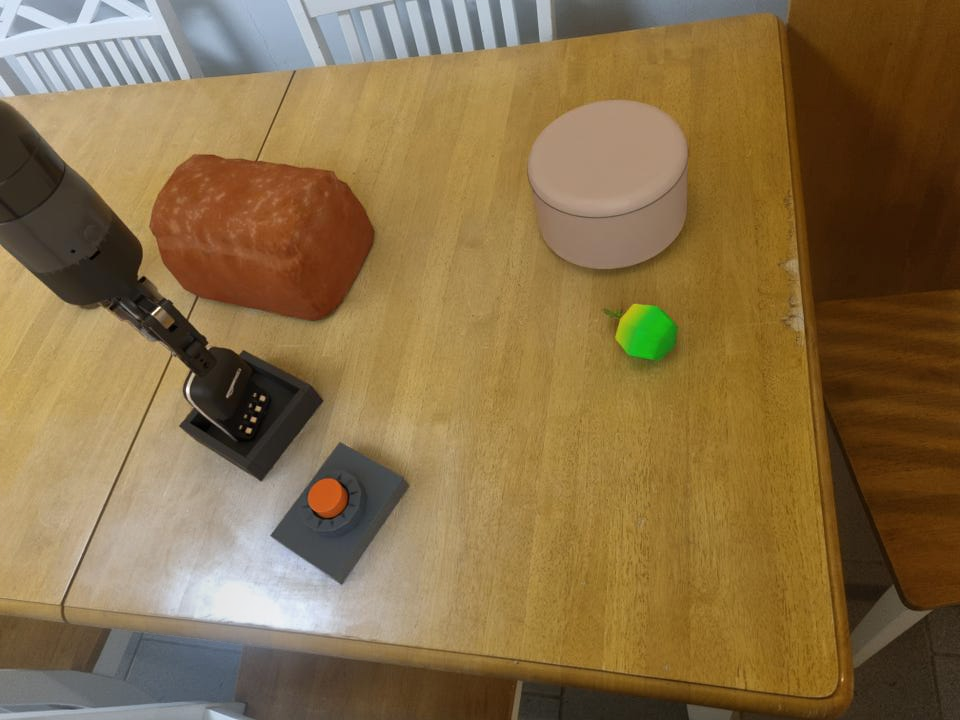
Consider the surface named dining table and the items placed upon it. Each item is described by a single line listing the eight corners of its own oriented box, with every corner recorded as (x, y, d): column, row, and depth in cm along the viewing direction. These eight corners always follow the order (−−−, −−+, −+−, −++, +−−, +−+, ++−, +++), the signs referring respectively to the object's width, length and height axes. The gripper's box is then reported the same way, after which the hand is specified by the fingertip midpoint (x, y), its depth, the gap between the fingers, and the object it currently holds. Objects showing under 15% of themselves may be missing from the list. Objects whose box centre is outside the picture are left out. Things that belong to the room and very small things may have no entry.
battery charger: (258, 447, 84) (206, 398, 74) (230, 443, 85) (175, 394, 75) (281, 394, 87) (233, 341, 78) (253, 391, 88) (203, 338, 79)
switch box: (341, 585, 73) (326, 573, 70) (279, 542, 77) (261, 529, 74) (409, 485, 77) (397, 469, 74) (347, 450, 82) (333, 434, 78)
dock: (261, 481, 82) (245, 468, 79) (195, 439, 87) (178, 426, 84) (323, 400, 86) (311, 385, 83) (257, 365, 91) (243, 349, 88)
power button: (333, 524, 73) (326, 518, 72) (307, 508, 75) (300, 501, 73) (355, 494, 74) (348, 487, 73) (329, 479, 76) (322, 472, 74)
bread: (329, 329, 92) (276, 252, 79) (181, 297, 101) (113, 223, 89) (385, 227, 99) (345, 142, 87) (243, 206, 108) (188, 127, 96)
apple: (676, 319, 72) (599, 283, 77) (650, 376, 74) (577, 338, 79) (698, 317, 78) (626, 284, 83) (674, 370, 80) (605, 334, 85)
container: (689, 274, 84) (691, 201, 74) (534, 280, 89) (517, 213, 79) (685, 163, 93) (686, 86, 84) (545, 174, 98) (531, 102, 88)
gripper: (-19, 233, 58) (110, 348, 71) (71, 302, 51) (196, 414, 64) (56, 172, 60) (168, 293, 73) (152, 229, 53) (256, 352, 66)
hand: (181, 350), depth 69 cm, fingers open, 8 cm apart
